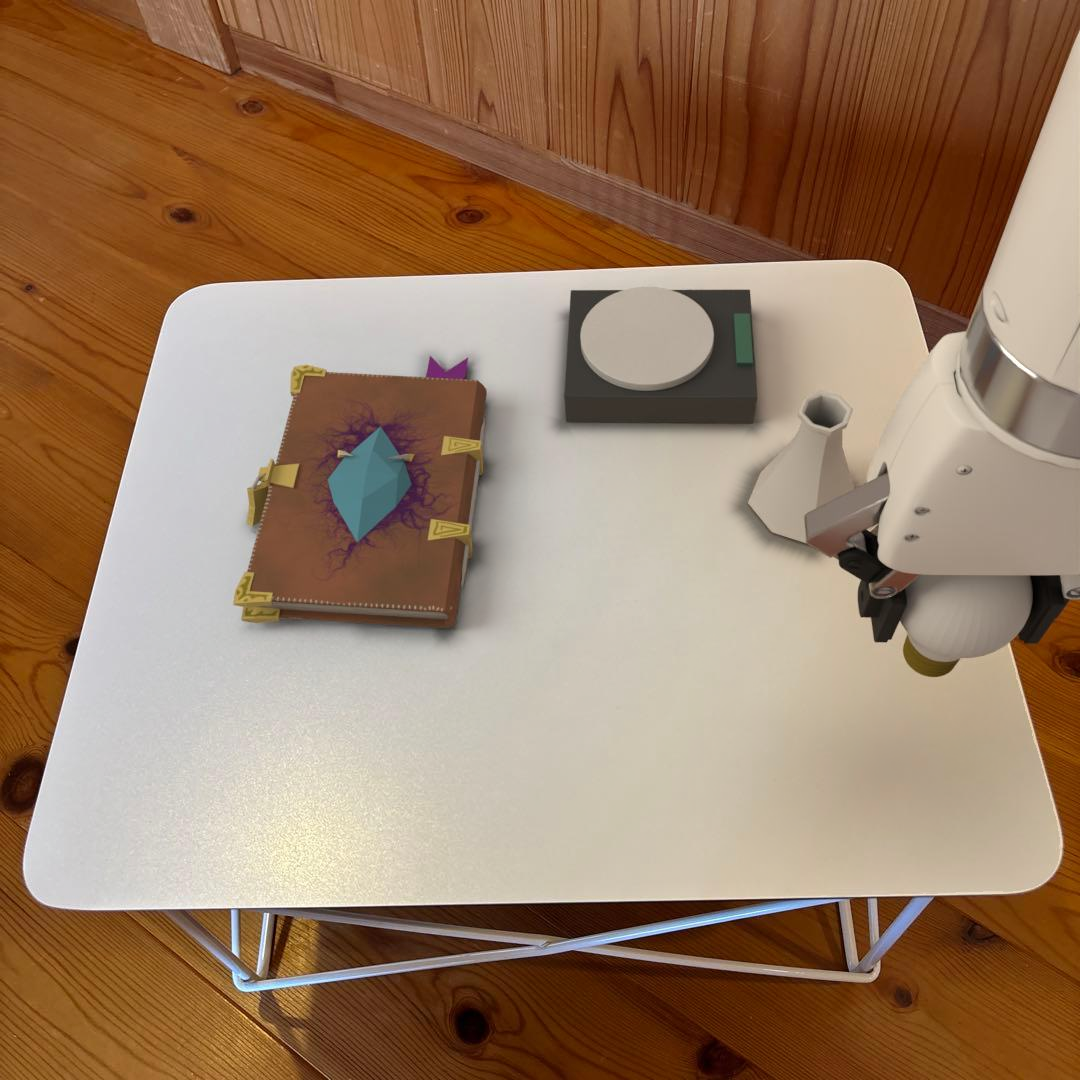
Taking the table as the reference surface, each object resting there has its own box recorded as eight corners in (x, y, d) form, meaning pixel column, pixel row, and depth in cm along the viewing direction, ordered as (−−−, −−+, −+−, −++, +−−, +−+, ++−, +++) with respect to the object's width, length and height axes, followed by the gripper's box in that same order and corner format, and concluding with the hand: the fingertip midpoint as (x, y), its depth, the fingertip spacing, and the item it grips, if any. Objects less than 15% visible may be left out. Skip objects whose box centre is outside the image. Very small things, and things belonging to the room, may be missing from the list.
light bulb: (844, 637, 54) (880, 533, 46) (940, 593, 55) (993, 483, 47) (910, 733, 51) (962, 640, 43) (1011, 684, 52) (1082, 585, 44)
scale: (746, 316, 83) (751, 281, 80) (753, 423, 78) (758, 389, 74) (572, 317, 85) (570, 282, 81) (565, 422, 79) (563, 389, 76)
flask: (729, 506, 74) (743, 416, 65) (789, 444, 76) (811, 350, 68) (815, 563, 71) (841, 476, 62) (874, 496, 73) (908, 404, 65)
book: (497, 367, 83) (494, 322, 79) (462, 643, 70) (456, 607, 66) (296, 357, 84) (283, 312, 80) (223, 627, 71) (203, 591, 67)
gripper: (1327, 265, 35) (1120, 548, 50) (807, 278, 37) (758, 548, 52) (1416, 441, 31) (1162, 691, 46) (828, 447, 33) (768, 686, 48)
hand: (949, 613), depth 49 cm, fingers closed on light bulb, 5 cm apart
